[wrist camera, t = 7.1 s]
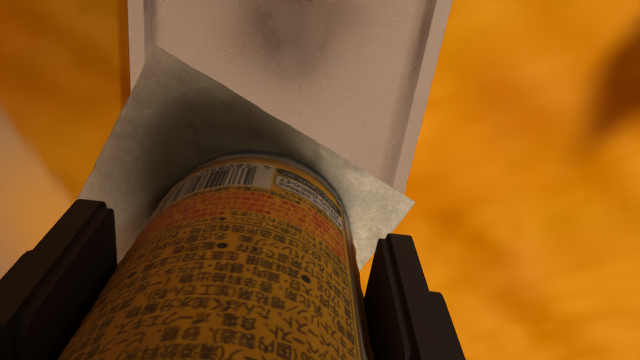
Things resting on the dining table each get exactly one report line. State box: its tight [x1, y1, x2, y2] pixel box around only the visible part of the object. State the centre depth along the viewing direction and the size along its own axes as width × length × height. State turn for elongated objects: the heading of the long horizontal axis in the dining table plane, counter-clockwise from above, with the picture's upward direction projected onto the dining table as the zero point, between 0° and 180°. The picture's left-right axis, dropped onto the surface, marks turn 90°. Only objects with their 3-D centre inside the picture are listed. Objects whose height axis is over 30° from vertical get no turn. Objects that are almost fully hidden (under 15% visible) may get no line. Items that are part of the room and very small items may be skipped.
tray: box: [128, 0, 452, 195], centre depth 28 cm, size 17×17×2 cm
